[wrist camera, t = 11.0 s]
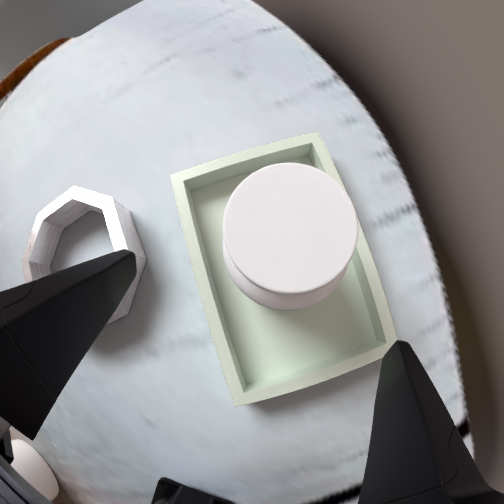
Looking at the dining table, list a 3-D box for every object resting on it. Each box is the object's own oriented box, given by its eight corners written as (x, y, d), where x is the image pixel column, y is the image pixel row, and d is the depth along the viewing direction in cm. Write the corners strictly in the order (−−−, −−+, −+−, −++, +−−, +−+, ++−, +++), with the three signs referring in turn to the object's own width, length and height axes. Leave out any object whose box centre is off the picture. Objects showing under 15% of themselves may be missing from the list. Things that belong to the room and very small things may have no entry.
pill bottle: (241, 225, 20) (214, 148, 10) (323, 227, 19) (366, 153, 10) (237, 308, 19) (201, 306, 9) (323, 311, 18) (377, 309, 8)
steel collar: (117, 351, 19) (96, 355, 16) (34, 298, 21) (13, 295, 18) (161, 220, 21) (146, 207, 18) (71, 191, 22) (52, 179, 19)
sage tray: (385, 345, 18) (399, 349, 16) (239, 395, 18) (235, 407, 16) (313, 149, 21) (317, 131, 19) (180, 189, 21) (170, 175, 19)
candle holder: (27, 489, 16) (-27, 516, 4) (0, 426, 18) (-66, 442, 6) (77, 510, 16) (20, 554, 4) (44, 441, 18) (-34, 472, 6)
